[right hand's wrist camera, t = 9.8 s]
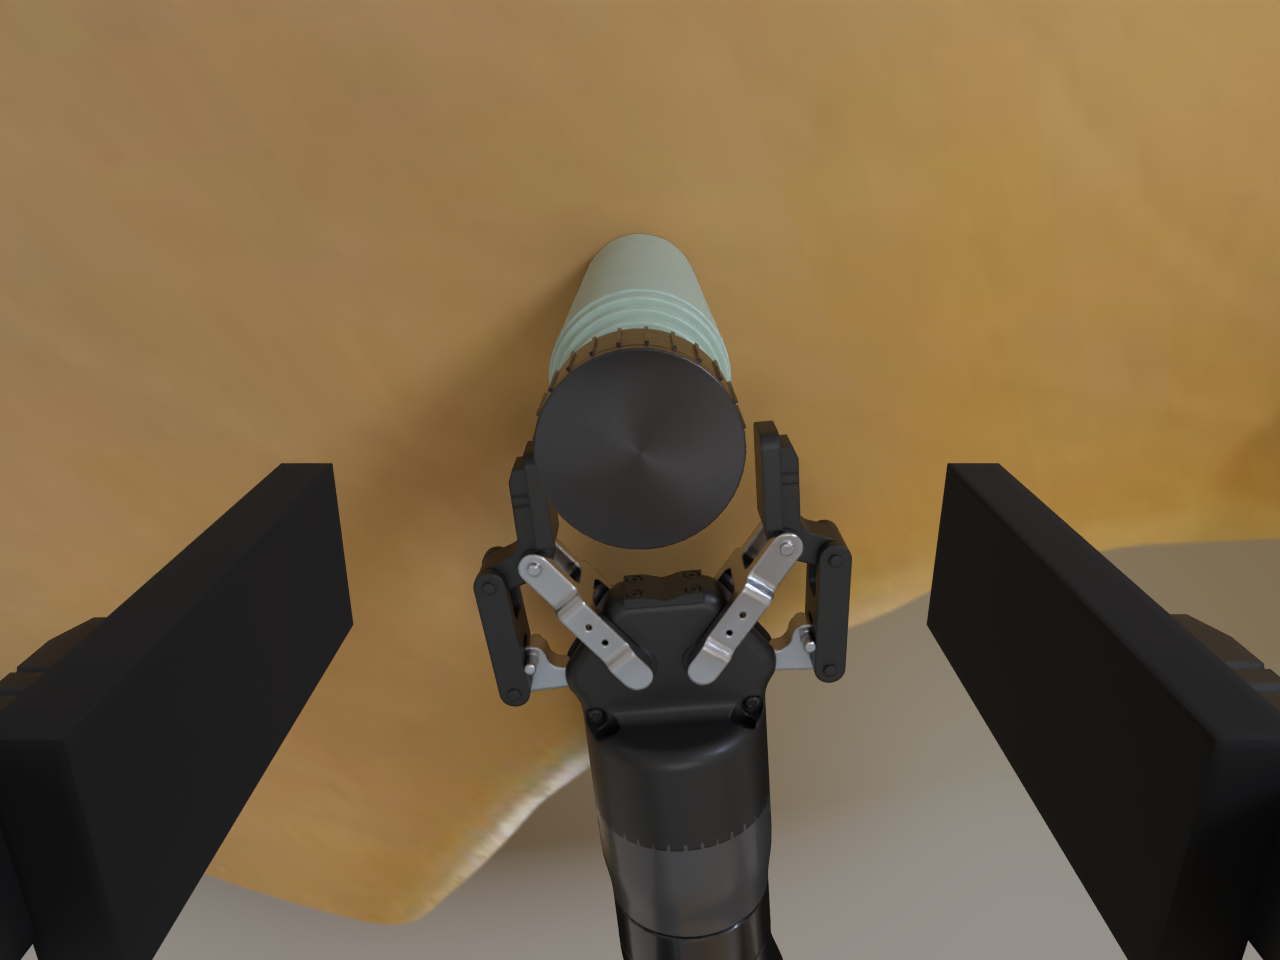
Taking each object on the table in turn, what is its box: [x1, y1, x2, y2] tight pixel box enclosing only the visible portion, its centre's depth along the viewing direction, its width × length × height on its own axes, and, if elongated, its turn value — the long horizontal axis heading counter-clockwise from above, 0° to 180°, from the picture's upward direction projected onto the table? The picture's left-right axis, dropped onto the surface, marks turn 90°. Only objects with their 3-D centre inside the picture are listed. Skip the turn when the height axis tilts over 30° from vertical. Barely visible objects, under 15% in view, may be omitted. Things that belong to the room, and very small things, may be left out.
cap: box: [533, 326, 746, 549], centre depth 19 cm, size 4×4×2 cm
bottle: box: [549, 234, 731, 385], centre depth 28 cm, size 5×5×20 cm
